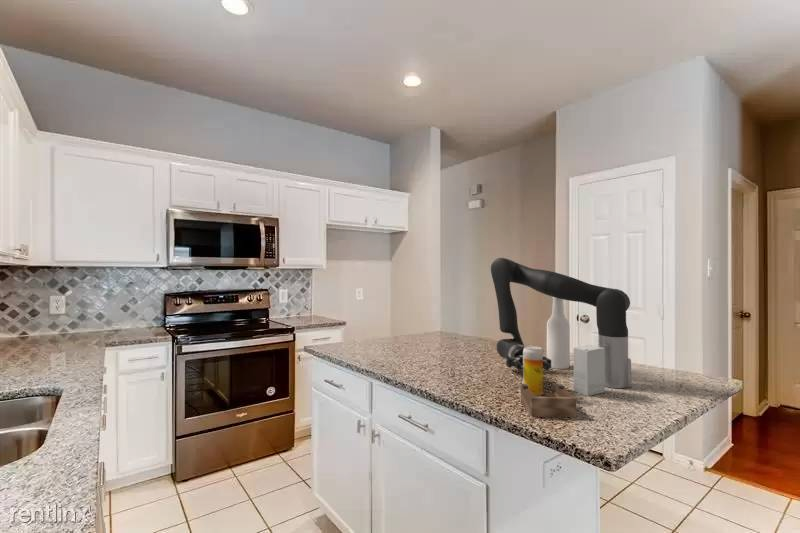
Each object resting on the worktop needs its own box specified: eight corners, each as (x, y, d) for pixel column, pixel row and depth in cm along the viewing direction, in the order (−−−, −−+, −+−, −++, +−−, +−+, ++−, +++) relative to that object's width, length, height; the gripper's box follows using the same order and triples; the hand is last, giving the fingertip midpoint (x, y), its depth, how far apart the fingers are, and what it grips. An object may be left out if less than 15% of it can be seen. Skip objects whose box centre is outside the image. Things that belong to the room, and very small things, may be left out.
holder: (561, 403, 123) (561, 383, 123) (576, 417, 112) (576, 395, 112) (520, 402, 124) (520, 383, 124) (531, 416, 112) (531, 395, 112)
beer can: (544, 398, 128) (544, 350, 128) (524, 396, 130) (523, 349, 130) (541, 392, 134) (541, 346, 134) (522, 391, 135) (522, 345, 136)
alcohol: (567, 364, 173) (566, 293, 173) (571, 370, 164) (571, 294, 164) (545, 364, 174) (544, 293, 174) (548, 369, 166) (548, 294, 166)
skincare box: (590, 388, 139) (590, 344, 139) (606, 393, 133) (605, 347, 133) (572, 391, 135) (572, 346, 135) (588, 396, 130) (587, 349, 130)
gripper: (500, 345, 147) (511, 355, 131) (541, 346, 147) (556, 355, 130) (500, 366, 147) (511, 378, 131) (541, 367, 147) (556, 379, 130)
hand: (533, 367), depth 131 cm, fingers open, 8 cm apart
